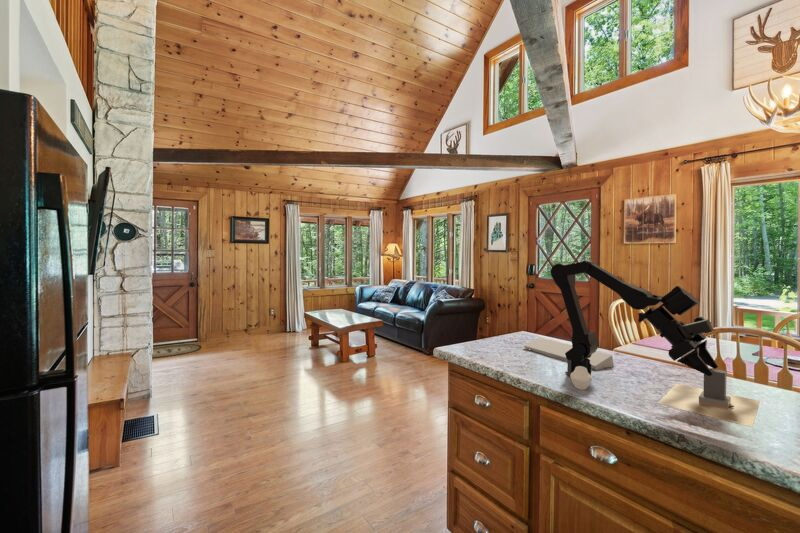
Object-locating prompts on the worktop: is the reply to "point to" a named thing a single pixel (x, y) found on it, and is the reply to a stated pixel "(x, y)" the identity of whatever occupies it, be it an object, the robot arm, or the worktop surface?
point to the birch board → (689, 401)
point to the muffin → (581, 378)
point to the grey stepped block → (715, 390)
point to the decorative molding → (559, 350)
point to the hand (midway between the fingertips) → (713, 371)
